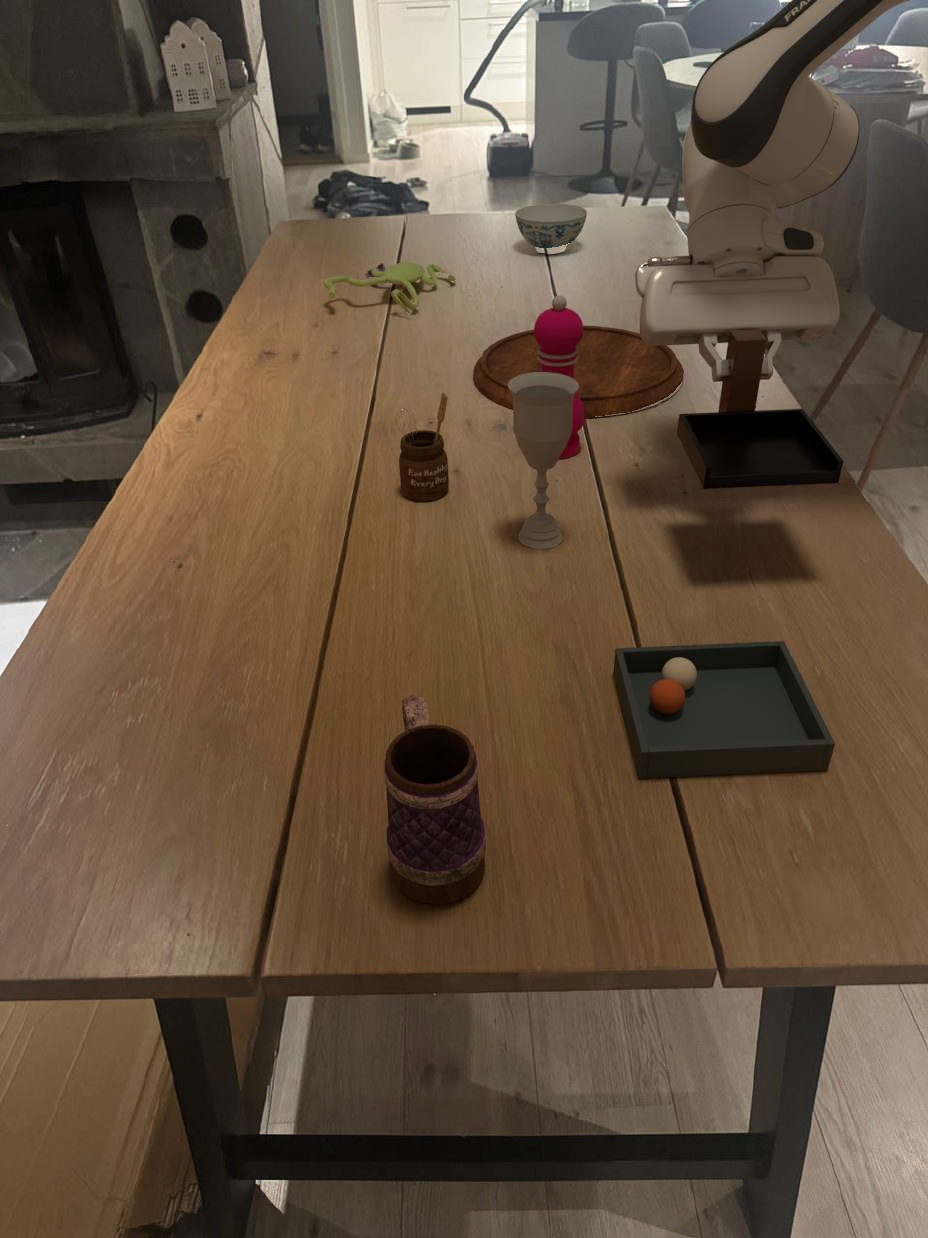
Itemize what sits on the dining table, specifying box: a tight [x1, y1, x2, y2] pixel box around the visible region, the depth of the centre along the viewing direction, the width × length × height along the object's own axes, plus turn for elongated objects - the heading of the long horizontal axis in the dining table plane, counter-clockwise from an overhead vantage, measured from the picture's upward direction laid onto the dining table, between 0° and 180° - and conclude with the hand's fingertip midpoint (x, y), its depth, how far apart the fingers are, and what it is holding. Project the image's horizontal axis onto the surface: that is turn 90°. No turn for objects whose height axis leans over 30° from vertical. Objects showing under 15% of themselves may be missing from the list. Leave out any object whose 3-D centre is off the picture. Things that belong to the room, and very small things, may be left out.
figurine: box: [323, 262, 457, 314], centre depth 175 cm, size 18×27×6 cm
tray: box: [612, 640, 836, 780], centre depth 79 cm, size 15×13×3 cm
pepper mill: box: [533, 294, 585, 460], centre depth 116 cm, size 7×7×20 cm
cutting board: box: [472, 325, 685, 419], centre depth 142 cm, size 32×32×2 cm
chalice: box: [508, 372, 579, 550], centre depth 99 cm, size 7×7×18 cm
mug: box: [383, 694, 487, 905], centre depth 66 cm, size 10×7×12 cm
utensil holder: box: [394, 391, 450, 502], centre depth 111 cm, size 6×6×12 cm
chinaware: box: [514, 203, 588, 248], centre depth 196 cm, size 15×15×8 cm
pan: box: [676, 329, 844, 490], centre depth 92 cm, size 13×15×10 cm
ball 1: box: [662, 657, 697, 691], centre depth 81 cm, size 3×3×3 cm
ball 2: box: [649, 679, 685, 714], centre depth 79 cm, size 3×3×3 cm
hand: (743, 378), depth 96 cm, fingers closed on pan, 3 cm apart
